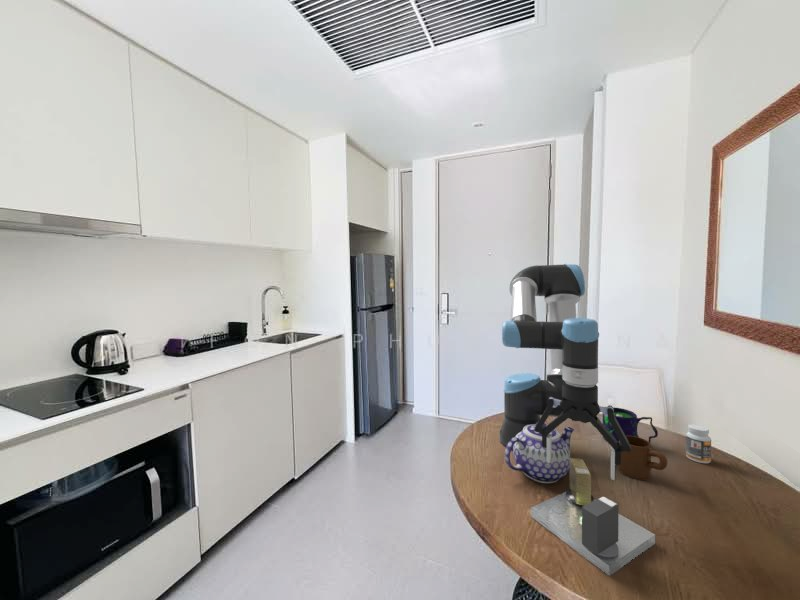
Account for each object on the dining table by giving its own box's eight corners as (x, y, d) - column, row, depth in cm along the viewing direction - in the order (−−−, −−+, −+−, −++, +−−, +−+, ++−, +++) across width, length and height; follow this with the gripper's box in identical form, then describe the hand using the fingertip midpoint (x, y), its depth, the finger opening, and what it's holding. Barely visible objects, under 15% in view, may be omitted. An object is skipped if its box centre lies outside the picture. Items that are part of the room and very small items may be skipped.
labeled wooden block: (563, 487, 83) (563, 456, 83) (589, 491, 81) (589, 459, 81) (569, 505, 76) (569, 471, 76) (598, 509, 74) (598, 475, 74)
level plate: (530, 516, 76) (530, 505, 76) (574, 495, 83) (574, 485, 83) (609, 576, 60) (609, 562, 60) (654, 543, 67) (655, 531, 67)
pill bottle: (709, 466, 95) (710, 433, 95) (684, 459, 100) (684, 427, 99) (711, 459, 99) (712, 427, 99) (687, 452, 103) (687, 422, 103)
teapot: (523, 499, 82) (522, 441, 82) (488, 467, 97) (487, 418, 96) (597, 478, 90) (597, 426, 90) (554, 452, 105) (554, 407, 104)
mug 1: (599, 441, 112) (600, 413, 111) (605, 431, 119) (605, 404, 119) (656, 456, 102) (656, 424, 101) (658, 444, 109) (658, 415, 109)
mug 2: (675, 486, 86) (676, 451, 86) (657, 493, 84) (657, 457, 83) (629, 463, 98) (629, 433, 97) (612, 469, 95) (612, 437, 94)
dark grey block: (604, 563, 60) (605, 520, 60) (574, 541, 65) (574, 502, 65) (626, 549, 63) (626, 508, 63) (595, 528, 69) (596, 491, 68)
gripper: (522, 379, 81) (522, 461, 83) (646, 396, 68) (644, 493, 69) (528, 372, 88) (528, 448, 89) (642, 386, 74) (641, 475, 75)
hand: (579, 468), depth 79 cm, fingers open, 13 cm apart
